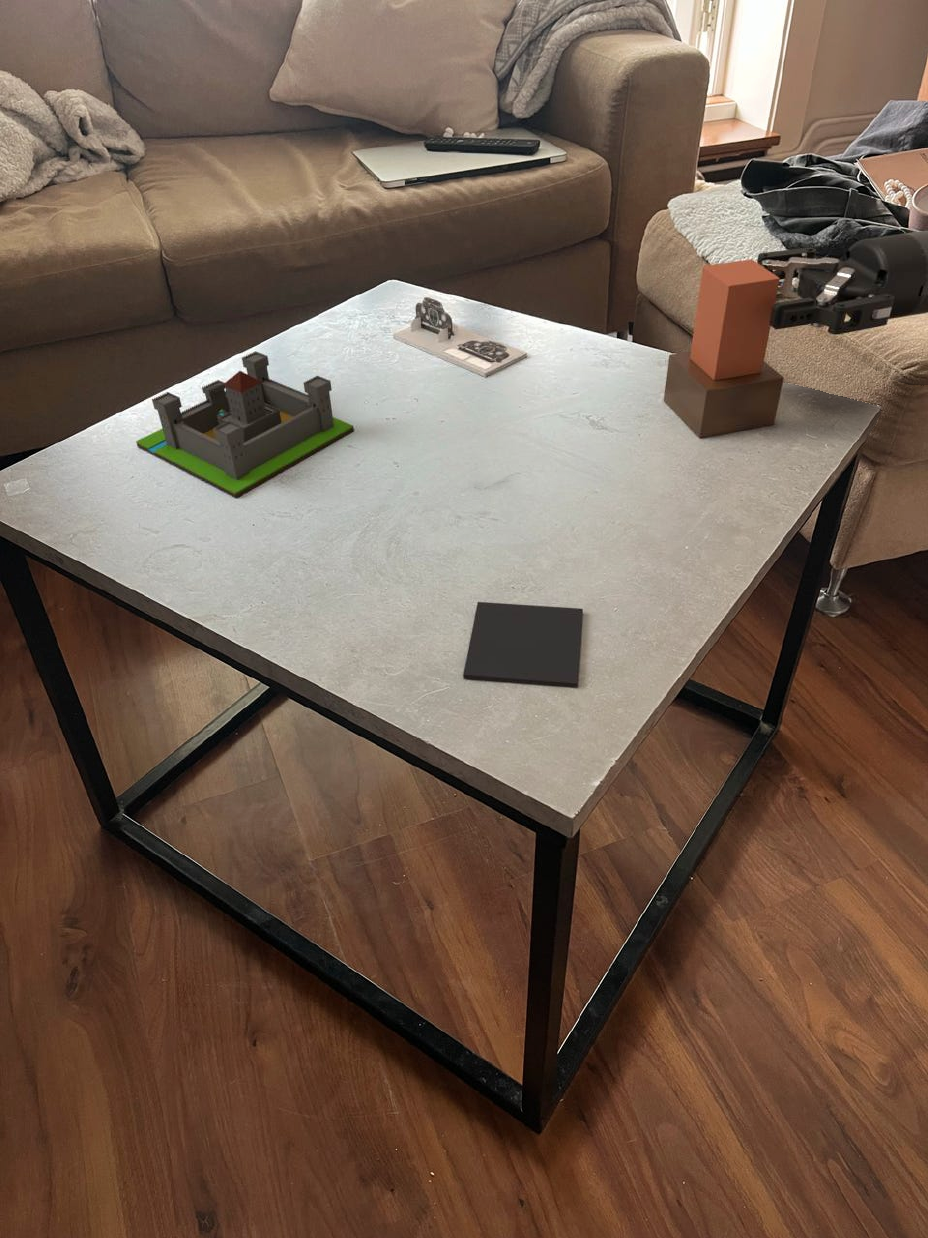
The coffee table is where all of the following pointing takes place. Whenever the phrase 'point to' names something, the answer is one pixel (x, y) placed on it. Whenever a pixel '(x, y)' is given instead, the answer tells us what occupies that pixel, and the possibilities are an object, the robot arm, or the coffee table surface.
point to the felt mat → (525, 644)
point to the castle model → (245, 428)
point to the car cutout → (456, 341)
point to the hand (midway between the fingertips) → (749, 298)
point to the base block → (721, 397)
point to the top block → (733, 318)
